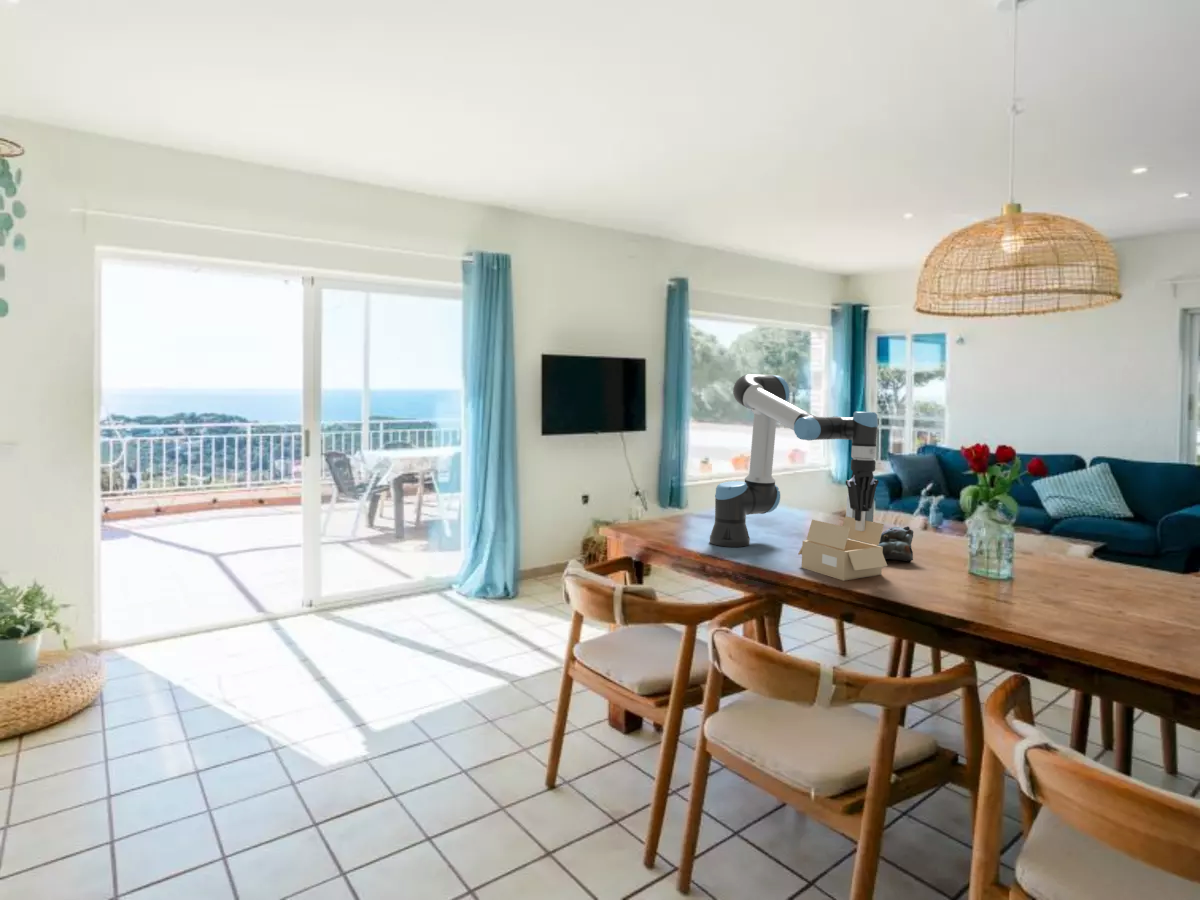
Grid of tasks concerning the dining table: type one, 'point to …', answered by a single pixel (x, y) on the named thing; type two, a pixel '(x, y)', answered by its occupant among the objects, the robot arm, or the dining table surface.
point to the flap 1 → (828, 534)
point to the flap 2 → (870, 533)
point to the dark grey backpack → (897, 543)
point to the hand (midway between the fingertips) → (859, 530)
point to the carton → (843, 559)
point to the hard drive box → (851, 513)
